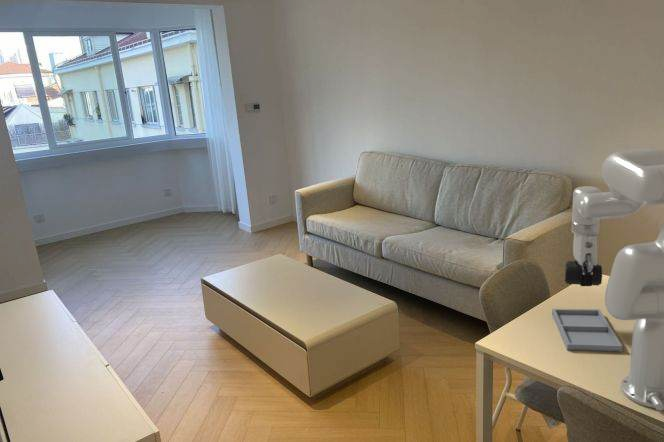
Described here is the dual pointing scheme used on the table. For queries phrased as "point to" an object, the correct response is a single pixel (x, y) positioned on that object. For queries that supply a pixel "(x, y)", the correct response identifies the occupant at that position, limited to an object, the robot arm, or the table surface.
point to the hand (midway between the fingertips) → (582, 279)
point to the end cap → (575, 271)
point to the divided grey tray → (586, 330)
